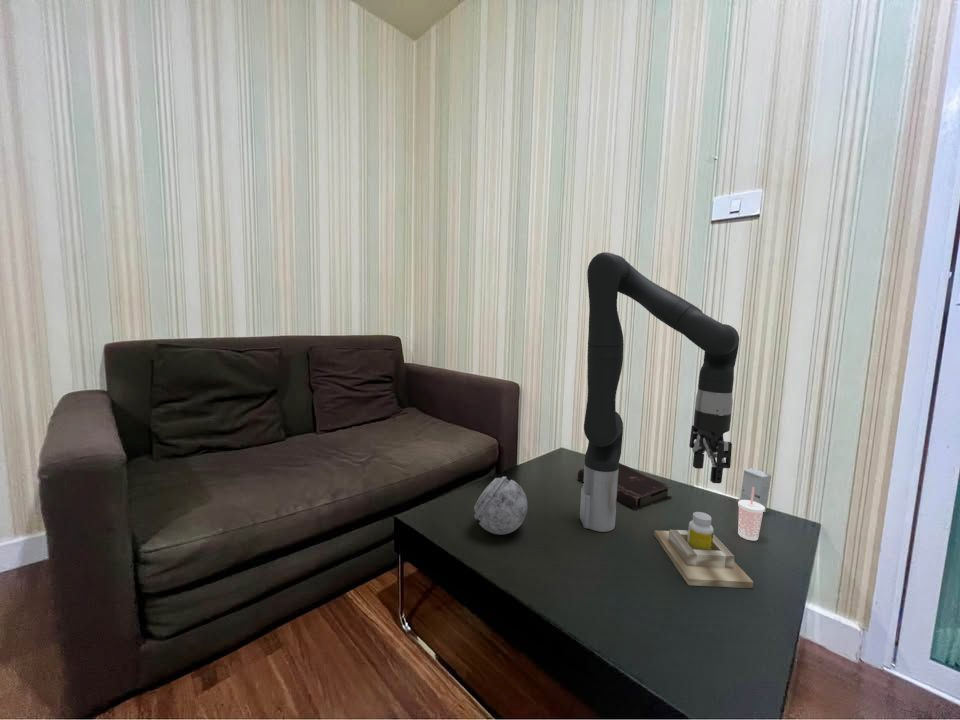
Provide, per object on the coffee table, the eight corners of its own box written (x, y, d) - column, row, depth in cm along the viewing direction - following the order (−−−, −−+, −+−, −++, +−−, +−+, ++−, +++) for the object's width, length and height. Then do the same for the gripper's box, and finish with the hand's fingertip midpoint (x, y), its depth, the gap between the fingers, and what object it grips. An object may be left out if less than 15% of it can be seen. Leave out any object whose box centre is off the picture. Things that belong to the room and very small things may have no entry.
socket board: (688, 585, 90) (690, 566, 90) (654, 535, 110) (655, 519, 110) (752, 588, 90) (754, 569, 89) (706, 537, 109) (708, 522, 109)
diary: (634, 513, 124) (635, 497, 123) (577, 482, 145) (577, 469, 144) (673, 499, 133) (674, 484, 132) (613, 472, 154) (614, 459, 154)
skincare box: (738, 505, 128) (742, 469, 127) (747, 503, 130) (751, 467, 128) (758, 515, 123) (762, 476, 121) (767, 512, 124) (772, 474, 123)
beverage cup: (741, 541, 108) (746, 491, 107) (730, 528, 114) (735, 481, 113) (766, 543, 107) (772, 493, 106) (754, 530, 114) (759, 483, 112)
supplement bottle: (714, 561, 97) (718, 522, 95) (690, 558, 98) (693, 519, 97) (706, 548, 102) (710, 511, 101) (683, 545, 103) (686, 509, 102)
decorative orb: (484, 513, 120) (485, 464, 119) (532, 523, 115) (534, 472, 113) (465, 538, 107) (466, 484, 105) (518, 551, 102) (520, 494, 100)
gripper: (683, 401, 102) (677, 463, 104) (712, 416, 88) (705, 487, 90) (713, 402, 102) (707, 464, 104) (747, 417, 88) (739, 488, 90)
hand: (706, 475), depth 97 cm, fingers open, 8 cm apart
